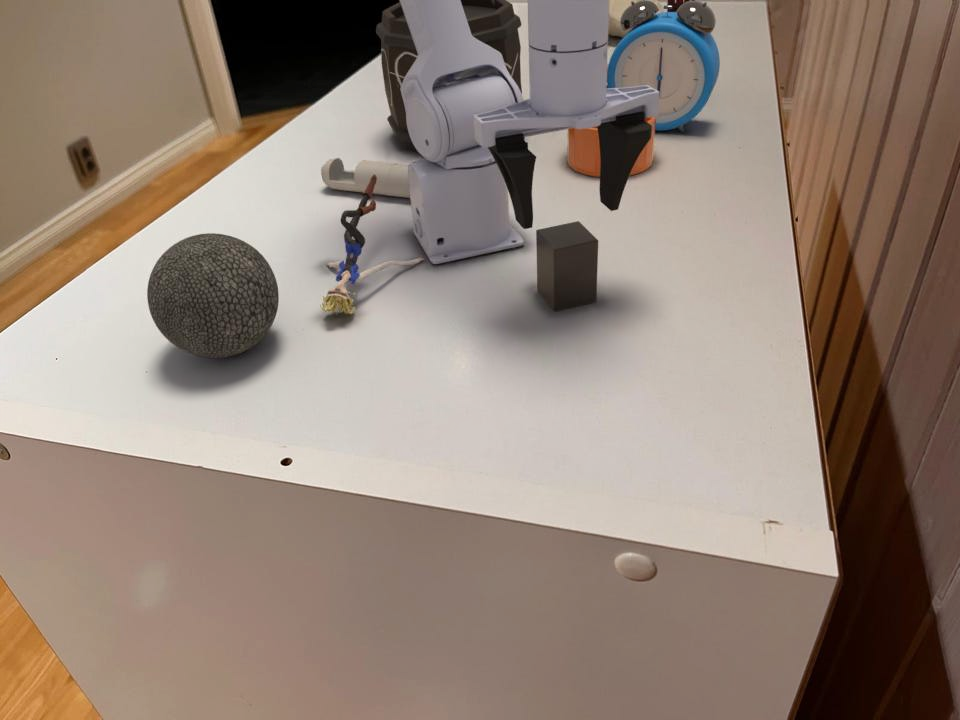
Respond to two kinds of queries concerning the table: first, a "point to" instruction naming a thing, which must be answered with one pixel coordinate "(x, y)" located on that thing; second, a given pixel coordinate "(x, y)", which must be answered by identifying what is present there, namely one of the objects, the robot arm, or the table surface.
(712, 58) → the alarm clock
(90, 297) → the table surface
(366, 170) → the white notched cylinder
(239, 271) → the decorative ball
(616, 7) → the decorative stone
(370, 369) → the table surface
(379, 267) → the figurine
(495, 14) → the wooden barrel
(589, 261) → the block
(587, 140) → the cup
